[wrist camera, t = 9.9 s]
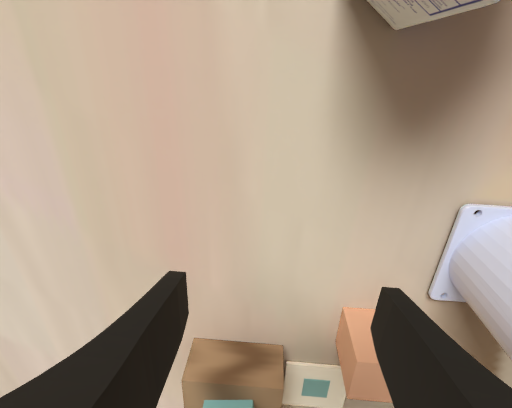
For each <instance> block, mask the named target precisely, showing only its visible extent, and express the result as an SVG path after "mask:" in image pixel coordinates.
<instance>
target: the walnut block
mask: <svg viewBox="0 0 512 408" xmlns="http://www.w3.org/2000/svg"><path fill="white" fill-rule="evenodd" d="M182 390H183V400H184V408H203V404H204V400H253V403H254V408H281V407H282V399H283V392H284V375H283V345H271V344H259V343H247V342H235V341H223V340H211V339H199V338H194V340H193V343H192V347H191V350H190V354H189V357H188V360H187V364H186V367H185V371H184V374H183V377H182Z"/></svg>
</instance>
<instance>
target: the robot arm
mask: <svg viewBox="0 0 512 408" xmlns="http://www.w3.org/2000/svg"><path fill="white" fill-rule="evenodd" d="M477 210H479V211H478V212H477V213H476V214H474V212H475V211H477ZM443 293H444V294H443ZM428 294H429V296H430V297H431V298H432V299H434V300H444V301H457V302H467V303H468V304H469V306H470V307H471V308H472V310H473V311H474V312H475V314H476V315H477V316H478V317H479V319H480V320H481V321H482V323H483V324H484V325H485V327H486V328H487V329H488V330H489V332H490V333H491V334H492V336H493V337H494V338H495V340H496V341H497V342H498V343H499V345H500V346H501V347H502V349H503V350H504V351H505V353H506V354H507V355H508V356H509V358H510V359H511V360H512V206H497V205H481V204H466V205H463V206H462V207H461V208H460V210H459V212H458V215H457V218H456V220H455V223H454V226H453V228H452V231H451V233H450V236H449V239H448V241H447V244H446V247H445V249H444V252H443V255H442V257H441V260H440V263H439V265H438V268H437V271H436V273H435V276H434V278H433V281H432V284H431V286H430V289H429V292H428ZM441 294H443V295H441ZM188 314H189V311H188V297H187V283H186V272H176V271H169V272H168V273H167V274H166V275H165V276H163V277H162V278H161V279H160V280H159V281H158V282H157V283H156V284H155V285H154V286H153V287H152V288H151V289H150V290H149V291H148V292H147V293H146V294H145V295H144V296H143V297H142V298H141V299H140V300H139V301H138V302H136V303H135V304H134V305H133V306H132V307H131V308H130V309H129V310H128V311H127V312H125V313H124V314H123V315H122V316H121V317H120V318H118V319H117V320H116V321H115V322H114V323H112V324H111V325H110V326H109V327H108V328H106V329H105V330H104V331H103V332H101V333H100V334H99V335H98V336H96V337H95V338H94V339H92V340H91V341H90V342H88V343H87V344H86V345H84V346H83V347H82V348H80V349H79V350H77V351H76V352H75V353H73V354H72V355H70V356H69V357H67V358H66V359H64V360H62V361H61V362H59V363H58V364H56V365H55V366H53V367H52V368H50V369H48V370H47V371H45V372H44V373H42V374H41V375H39V376H37V377H36V378H34V379H32V380H31V381H29V382H27V383H26V384H24V385H22V386H20V387H19V388H17V389H15V390H13V391H12V392H10V393H8V394H6V395H4V396H3V397H1V398H0V408H156V406H157V404H158V401H159V398H160V395H161V393H162V390H163V388H164V385H165V383H166V380H167V377H168V375H169V372H170V370H171V367H172V364H173V362H174V359H175V357H176V354H177V351H178V349H179V346H180V343H181V341H182V337H183V334H184V330H185V326H186V322H187V318H188ZM370 329H371V334H372V339H373V344H374V348H375V352H376V356H377V359H378V362H379V365H380V368H381V371H382V374H383V377H384V380H385V382H386V385H387V388H388V391H389V394H390V396H391V399H392V402H393V405H394V408H512V388H511V387H509V386H508V385H507V384H505V383H504V382H503V381H502V380H500V379H499V378H498V377H496V376H495V375H494V374H492V373H491V372H490V371H489V370H488V369H486V368H485V367H484V366H483V365H481V364H480V363H479V362H478V361H477V360H476V359H474V358H473V357H472V356H471V355H470V354H469V353H467V352H466V351H465V350H464V349H463V348H462V347H461V346H459V345H458V344H457V343H456V342H455V341H454V340H453V339H452V338H451V337H449V336H448V335H447V334H446V333H445V332H444V331H443V330H442V329H441V328H440V327H439V326H438V325H437V324H436V323H435V322H434V321H433V320H431V319H430V318H429V317H428V316H427V315H426V314H425V313H424V312H423V311H422V310H421V309H420V308H419V307H418V306H417V305H416V304H415V303H414V302H413V301H412V300H411V299H410V298H409V297H408V296H407V295H406V294H405V293H404V292H403V291H402V290H400V289H399V288H389V287H382V289H381V292H380V296H379V299H378V303H377V306H376V310H375V313H374V317H373V320H372V323H371V327H370Z"/></svg>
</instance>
